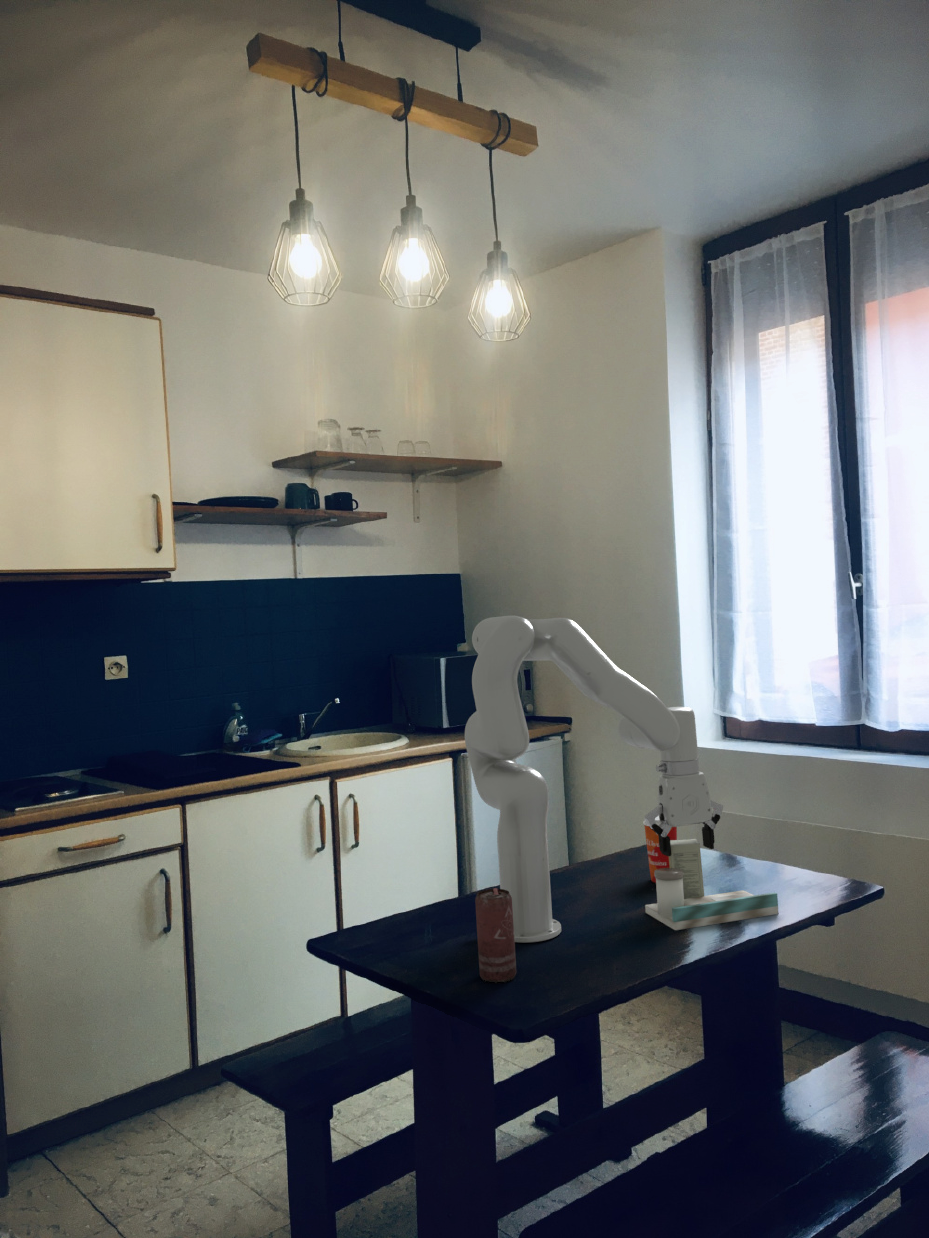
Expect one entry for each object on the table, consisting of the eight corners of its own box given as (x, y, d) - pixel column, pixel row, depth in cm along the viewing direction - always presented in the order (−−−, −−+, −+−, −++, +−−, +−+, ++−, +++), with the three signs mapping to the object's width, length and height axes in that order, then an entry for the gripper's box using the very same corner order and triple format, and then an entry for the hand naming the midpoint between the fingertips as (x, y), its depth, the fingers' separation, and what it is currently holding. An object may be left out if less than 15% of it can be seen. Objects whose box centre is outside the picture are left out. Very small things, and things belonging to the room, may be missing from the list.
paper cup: (640, 878, 210) (636, 816, 210) (670, 873, 212) (666, 812, 212) (657, 887, 202) (653, 822, 203) (688, 882, 205) (684, 818, 205)
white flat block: (675, 930, 174) (673, 909, 174) (645, 912, 185) (644, 892, 185) (778, 913, 180) (777, 893, 180) (743, 897, 191) (742, 878, 191)
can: (514, 968, 159) (509, 885, 159) (518, 982, 153) (512, 896, 153) (479, 970, 159) (474, 888, 159) (481, 985, 153) (475, 899, 153)
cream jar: (665, 919, 176) (662, 876, 176) (652, 911, 181) (649, 869, 181) (691, 915, 177) (688, 872, 177) (677, 907, 182) (674, 866, 182)
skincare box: (701, 897, 193) (698, 838, 193) (705, 903, 189) (701, 842, 189) (670, 898, 194) (666, 839, 194) (673, 904, 189) (669, 844, 189)
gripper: (650, 775, 186) (658, 861, 185) (727, 764, 190) (735, 848, 190) (633, 770, 193) (640, 853, 193) (708, 760, 197) (715, 841, 197)
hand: (687, 851), depth 191 cm, fingers open, 9 cm apart
